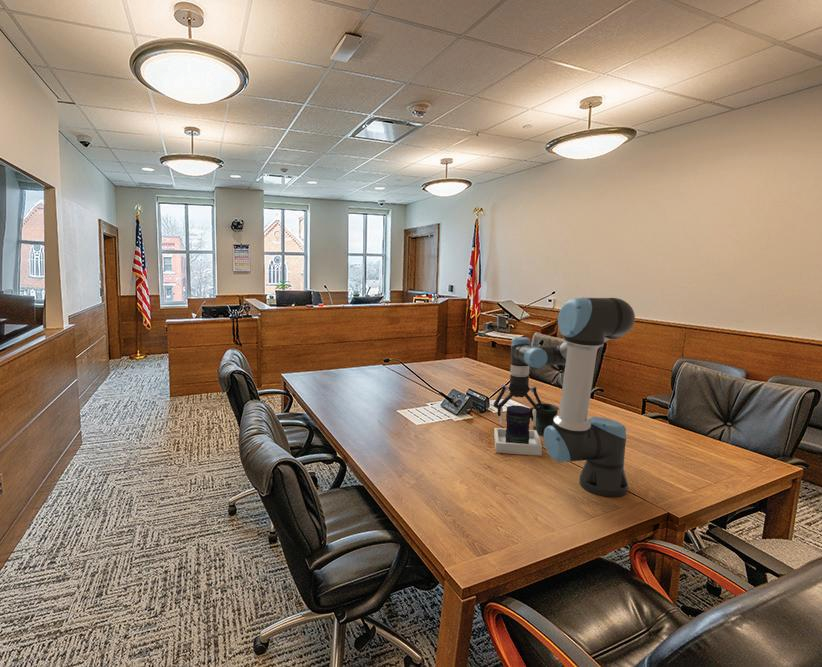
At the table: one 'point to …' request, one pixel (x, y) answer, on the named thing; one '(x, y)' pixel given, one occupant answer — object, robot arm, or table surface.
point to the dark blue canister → (517, 424)
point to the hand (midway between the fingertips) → (517, 424)
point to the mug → (544, 417)
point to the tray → (517, 444)
